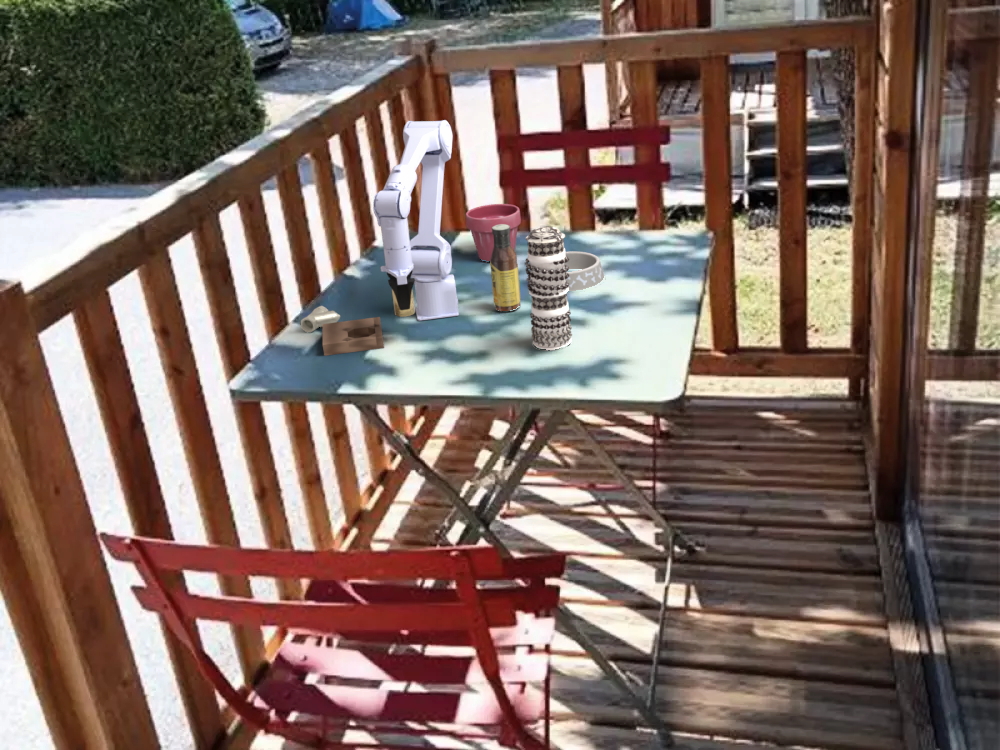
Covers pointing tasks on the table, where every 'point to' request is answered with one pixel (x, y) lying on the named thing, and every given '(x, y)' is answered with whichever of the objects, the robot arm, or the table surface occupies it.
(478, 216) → the plant pot
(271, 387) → the table surface
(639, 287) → the table surface
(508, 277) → the sauce bottle
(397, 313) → the brass bushing
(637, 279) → the table surface
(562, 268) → the decorative candle
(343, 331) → the walnut jig plate
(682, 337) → the table surface
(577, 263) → the dog bowl
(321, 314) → the pipe fitting
